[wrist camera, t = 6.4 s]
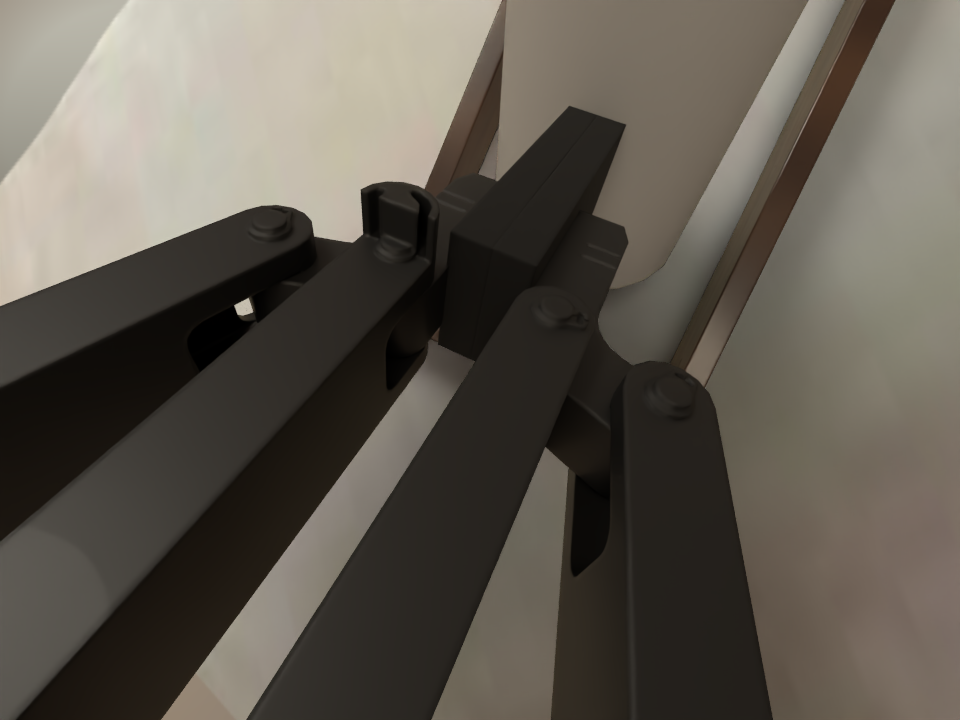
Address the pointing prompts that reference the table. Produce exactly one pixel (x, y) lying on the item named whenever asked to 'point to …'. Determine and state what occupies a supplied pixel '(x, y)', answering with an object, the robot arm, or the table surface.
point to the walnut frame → (771, 194)
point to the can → (641, 97)
